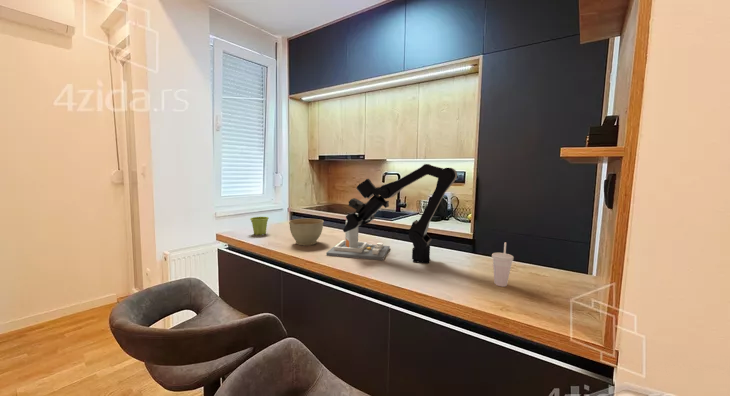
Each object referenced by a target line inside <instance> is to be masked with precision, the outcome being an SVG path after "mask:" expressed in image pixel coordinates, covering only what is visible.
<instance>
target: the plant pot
mask: <svg viewBox="0 0 730 396" xmlns="http://www.w3.org/2000/svg"><path fill="white" fill-rule="evenodd" d="M249 220H250V221H251V226H252V230H253V235H255V236H259V235H260V236H262V234H263V235H266V233H267V229H268V228H267V227H268V220H269V217H268V216H254V217H250V218H249Z"/></svg>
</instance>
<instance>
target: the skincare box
mask: <svg viewBox="0 0 730 396" xmlns="http://www.w3.org/2000/svg"><path fill="white" fill-rule="evenodd" d="M346 224H347V219H346V220H345V225H346ZM344 233H345V235H344V236H345V240H344V241H345V246H346V247H349V248H358V242H359V227H357V228H354V229H352V230H349V231H347V232H344Z"/></svg>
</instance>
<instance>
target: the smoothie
mask: <svg viewBox="0 0 730 396" xmlns="http://www.w3.org/2000/svg"><path fill="white" fill-rule="evenodd" d="M491 258H492V263H493V264H492V265H493V281H494V282H493V284H494V285H495V284H496V285H495V286H498V287H503V288H504V287H507V286H508V282H509V277H510V274H511V273H510V272H511V267H512V263H513V261H514V255H512V254H509V253H507V242H504V244H503V252H493V253H492V254H491Z"/></svg>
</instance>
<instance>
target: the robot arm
mask: <svg viewBox="0 0 730 396" xmlns="http://www.w3.org/2000/svg"><path fill="white" fill-rule="evenodd" d="M425 176H430V177H434V178H437V180H436V181H437V182H436V187H435V189H434V190H433V193H432V195H431V197H430V199H429V200H428V203H427V205H425V206H426V207H425V209H424V210H423V212H422V214H421V216H420V218H419V219H415V220H414V221H412V224H411V225H410V228H409V229H408V230H407V231H408V239H409V240H410V241H411V243H412V246H413V247H412V251H411V253H412V254H411V260H412V262H413V263H421V264H422V263H424V264H430V262H431V259H430V258H431V257H430V256H431V245H430V244H431V242H432V238H431V237H430V236H429V235H428V234H427V233H428V230H429V226H430V223H431V220H432V218H433V217H434V215H435V213H436V210H437V209H438V207H439V205H440V203H441V202H442V200H443V198H444V196H445V194H446V192H447V191H448V190H449V189H450V187H451V186H452V185H453V184H454V183H455V181H456V180H457V178H458V173H457V170H456V169H455V168H452V167H444V168H443V167H439V166H434V165H431V164H429V163H424V164H422V166H420V167H419V168H417V169H414V170H413V171H412V172H410V173H408V174H406V175H404V176H403V177H401V178H399V179H397V180H395V181H394V180H393V181H392V182H388V183H385V184H383V185H381V186H378V187H377V186H375V185H374V183H373V182H372V181H371V179H370V178H366V179H365V180H363V181H362V182H361V183H359V184H358V185H357V186H356V190H357V191H358V192H359V194H360V195H361V196H362V197H363V198H364V199H368V201H367V202H365V203H364V202H363V201H361V200H360V199H358V198H356V197H353V198H351V199H350V200H348V207H350V208H352V209H354V210H355V212H350V213H348V214H347V215H346V216H345V219H346V220H347V224H346V223H345V226H344V228H343V230H342V231H343V232H344V233H346V232H347V231H349V230H352V229H354V228H357V227H358V228H360V227H362V226H364V225H367V224H369V223H371V222H373V220H375V215H376V214H377V213H378V211H379V210H380V209H381V208H383V207H384V208H385V209H386V208H389V207H390V204H389V203H390V201H389V200H386V199H390V198H394V197H395V196H396V195H398V194H399V193H400V192H401V191H402V190H404V188H406V187H408V186H410V185H412V184H413V183H415V182H416V181H417V182H418V181H419V180H420V179H422V178H424V177H425Z"/></svg>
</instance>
